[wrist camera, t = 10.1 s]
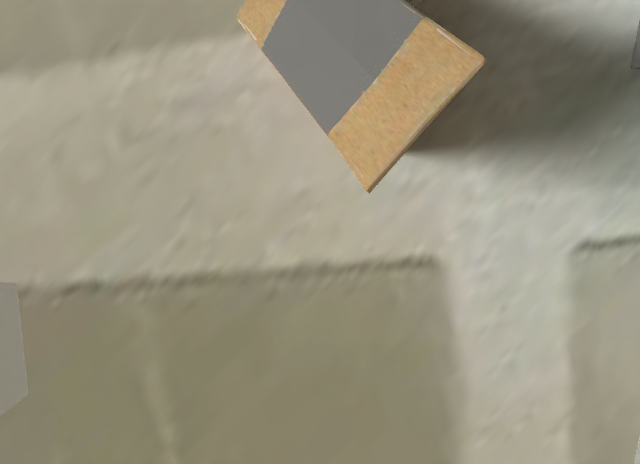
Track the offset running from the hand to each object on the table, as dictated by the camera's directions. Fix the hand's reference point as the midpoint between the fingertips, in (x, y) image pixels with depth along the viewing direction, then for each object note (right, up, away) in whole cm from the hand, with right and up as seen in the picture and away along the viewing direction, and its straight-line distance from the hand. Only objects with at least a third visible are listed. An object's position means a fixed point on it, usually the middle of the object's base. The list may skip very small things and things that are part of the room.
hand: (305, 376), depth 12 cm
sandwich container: (+2, +17, +30) cm, 34 cm away
